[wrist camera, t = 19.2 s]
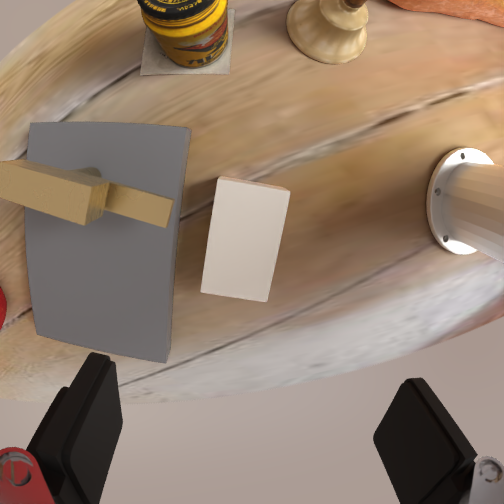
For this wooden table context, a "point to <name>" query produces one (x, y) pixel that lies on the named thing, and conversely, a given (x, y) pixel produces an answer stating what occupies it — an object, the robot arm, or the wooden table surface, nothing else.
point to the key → (79, 193)
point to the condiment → (187, 36)
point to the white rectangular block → (244, 238)
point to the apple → (2, 307)
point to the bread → (459, 8)
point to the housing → (107, 241)
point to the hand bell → (329, 29)
